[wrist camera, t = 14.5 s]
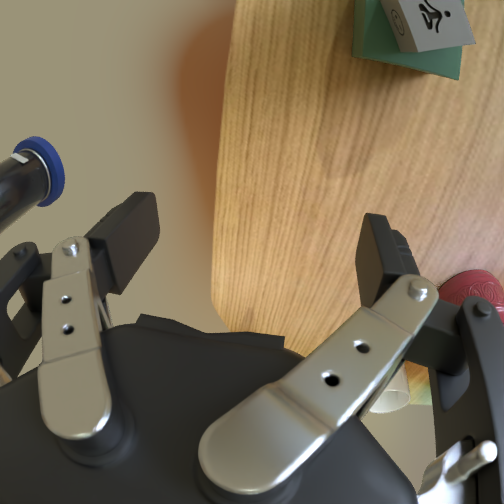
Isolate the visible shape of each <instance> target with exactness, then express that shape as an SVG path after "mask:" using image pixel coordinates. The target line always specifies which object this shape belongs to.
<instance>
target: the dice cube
mask: <svg viewBox="0 0 504 504" xmlns="http://www.w3.org/2000/svg"><path fill="white" fill-rule="evenodd" d="M380 2H381V4H382V7H383V9H384V11H385V14H386V16H387V18H388V21H389V23H390V26H391V28H392V31H393V33H394V36H395V38H396V41H397V44H398V46H399V49H400V52H423V51H429V50H435V49H441V48H448V47H455V46H463V45H471V44H476V43H475V40H474V36H473V33H472V30H471V27H470V24H469V21H468V19H467V16H466V13H465V11H464V8H463V5H462V3H461V0H380Z"/></svg>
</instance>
